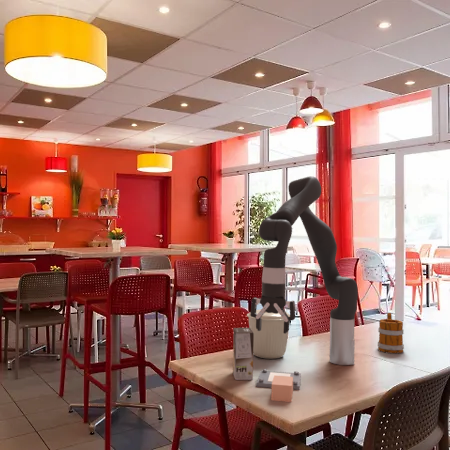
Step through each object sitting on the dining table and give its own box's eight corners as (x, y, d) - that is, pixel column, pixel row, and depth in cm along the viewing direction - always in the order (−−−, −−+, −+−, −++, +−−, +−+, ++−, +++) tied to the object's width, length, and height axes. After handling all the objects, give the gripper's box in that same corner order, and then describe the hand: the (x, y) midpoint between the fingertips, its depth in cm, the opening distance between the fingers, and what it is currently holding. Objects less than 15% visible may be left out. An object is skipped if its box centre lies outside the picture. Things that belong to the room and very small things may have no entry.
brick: (292, 392, 154) (293, 376, 154) (291, 402, 145) (291, 385, 145) (273, 391, 155) (274, 375, 155) (271, 400, 147) (271, 384, 147)
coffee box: (253, 380, 166) (254, 332, 166) (234, 380, 165) (235, 332, 165) (249, 372, 175) (250, 327, 175) (232, 372, 174) (233, 327, 174)
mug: (378, 352, 206) (379, 317, 206) (375, 344, 222) (376, 311, 222) (405, 354, 203) (406, 319, 203) (400, 345, 219) (401, 312, 219)
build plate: (300, 376, 170) (300, 371, 170) (299, 389, 156) (299, 383, 156) (260, 373, 173) (261, 368, 173) (256, 386, 159) (256, 380, 159)
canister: (238, 352, 201) (239, 301, 202) (274, 348, 210) (275, 299, 210) (261, 364, 185) (262, 308, 185) (299, 358, 194) (300, 305, 194)
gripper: (298, 281, 158) (296, 332, 158) (255, 279, 163) (254, 327, 163) (293, 284, 151) (291, 336, 151) (249, 281, 156) (247, 331, 155)
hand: (272, 331), depth 157 cm, fingers open, 8 cm apart
